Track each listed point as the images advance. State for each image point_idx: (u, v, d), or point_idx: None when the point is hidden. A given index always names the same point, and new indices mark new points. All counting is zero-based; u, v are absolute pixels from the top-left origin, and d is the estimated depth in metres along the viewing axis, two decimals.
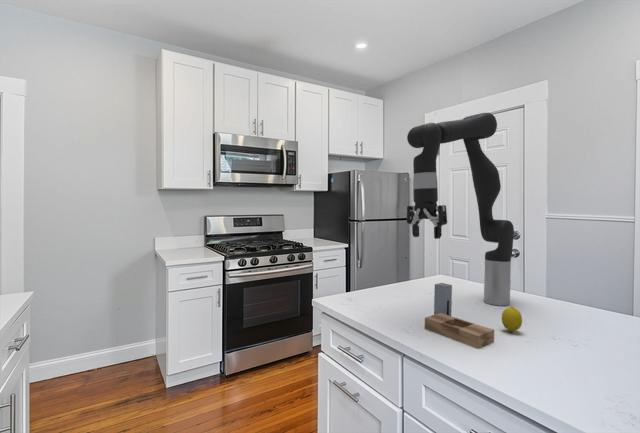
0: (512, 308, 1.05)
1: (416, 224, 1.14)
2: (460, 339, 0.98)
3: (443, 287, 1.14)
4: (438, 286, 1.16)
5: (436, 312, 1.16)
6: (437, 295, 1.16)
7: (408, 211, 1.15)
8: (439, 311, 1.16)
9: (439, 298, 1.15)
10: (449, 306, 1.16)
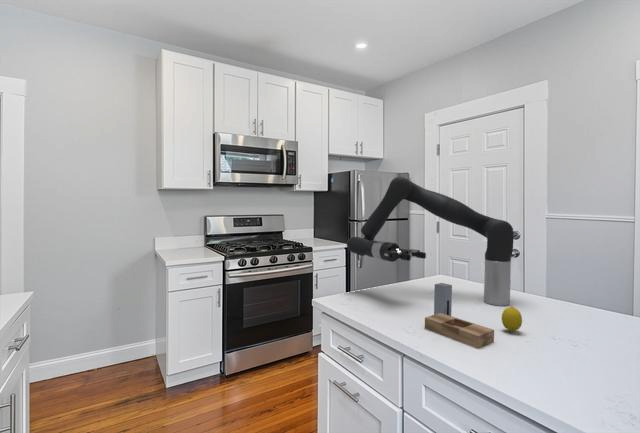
0: (512, 308, 1.05)
1: (416, 254, 1.31)
2: (460, 339, 0.98)
3: (443, 287, 1.14)
4: (438, 286, 1.16)
5: (436, 312, 1.16)
6: (437, 295, 1.16)
7: None
8: (439, 311, 1.16)
9: (439, 298, 1.15)
10: (449, 306, 1.16)
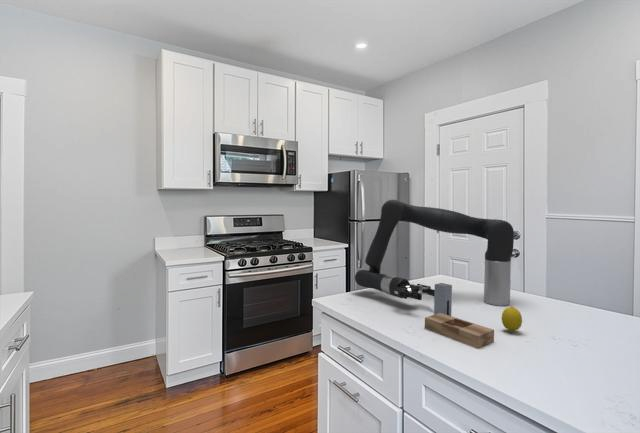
0: (512, 308, 1.05)
1: (426, 291, 1.27)
2: (460, 339, 0.98)
3: (443, 287, 1.14)
4: (438, 286, 1.16)
5: (436, 312, 1.16)
6: (437, 295, 1.16)
7: None
8: (439, 311, 1.16)
9: (439, 298, 1.15)
10: (449, 306, 1.16)
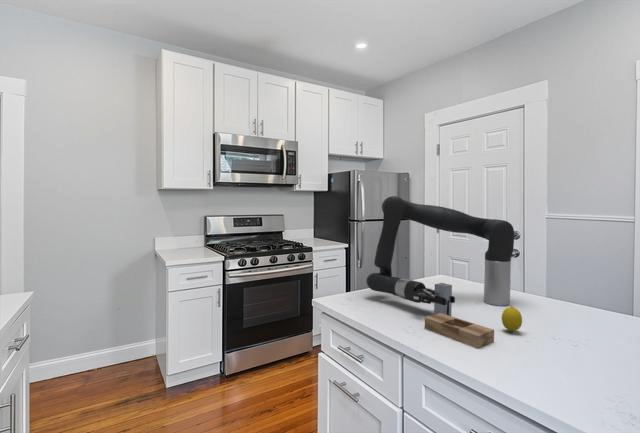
0: (512, 308, 1.05)
1: None
2: (460, 339, 0.98)
3: (443, 287, 1.14)
4: (438, 286, 1.16)
5: (436, 312, 1.16)
6: (437, 295, 1.16)
7: None
8: (439, 311, 1.16)
9: None
10: (449, 306, 1.16)
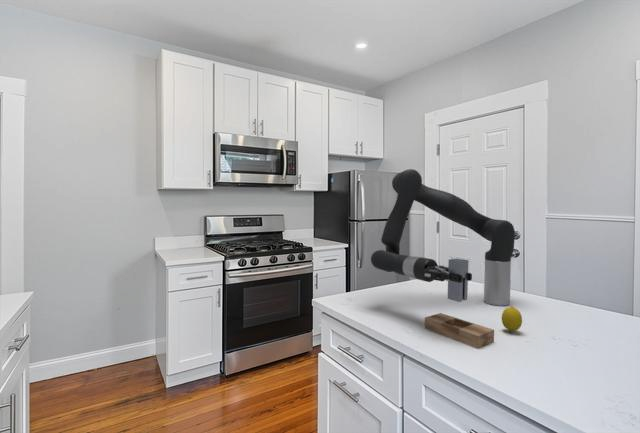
0: (512, 308, 1.05)
1: None
2: (460, 339, 0.98)
3: (459, 262, 1.00)
4: (453, 261, 1.02)
5: (450, 291, 1.03)
6: (451, 272, 1.02)
7: None
8: (454, 290, 1.02)
9: None
10: (465, 284, 1.02)
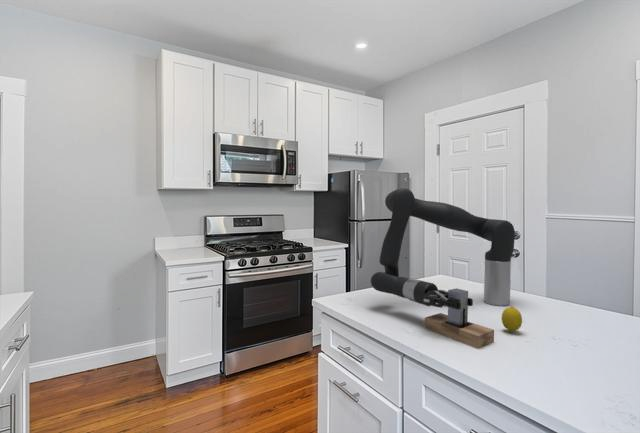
0: (512, 308, 1.05)
1: None
2: (460, 339, 0.98)
3: (459, 293, 1.01)
4: (453, 292, 1.02)
5: (450, 322, 1.03)
6: None
7: None
8: (454, 321, 1.02)
9: None
10: (465, 315, 1.02)
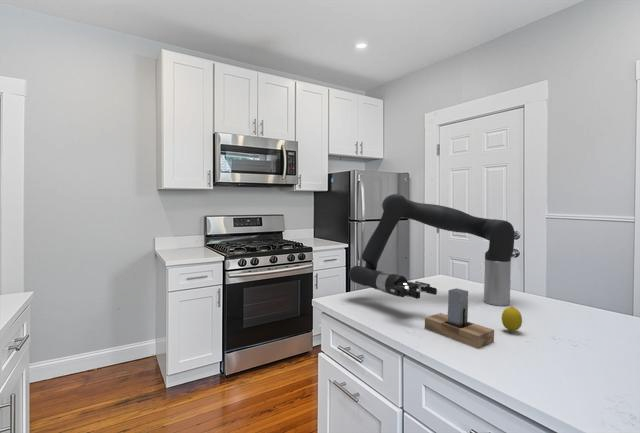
0: (512, 308, 1.05)
1: (425, 288, 1.18)
2: (460, 339, 0.98)
3: (459, 293, 1.01)
4: (453, 292, 1.02)
5: (450, 322, 1.03)
6: (451, 302, 1.02)
7: None
8: (454, 321, 1.02)
9: (454, 306, 1.02)
10: (465, 315, 1.02)
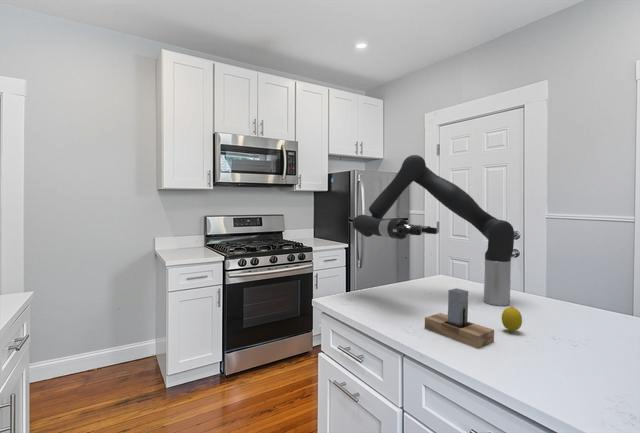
0: (512, 308, 1.05)
1: (426, 230, 1.23)
2: (460, 339, 0.98)
3: (459, 293, 1.01)
4: (453, 292, 1.02)
5: (450, 322, 1.03)
6: (451, 302, 1.02)
7: None
8: (454, 321, 1.02)
9: (454, 306, 1.02)
10: (465, 315, 1.02)
